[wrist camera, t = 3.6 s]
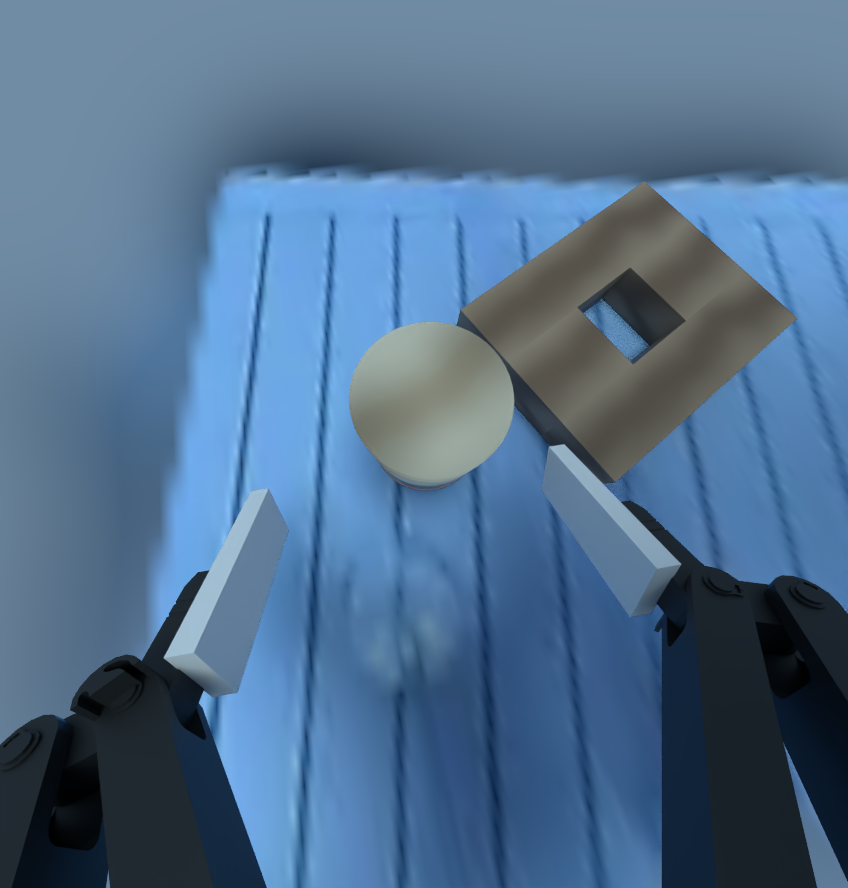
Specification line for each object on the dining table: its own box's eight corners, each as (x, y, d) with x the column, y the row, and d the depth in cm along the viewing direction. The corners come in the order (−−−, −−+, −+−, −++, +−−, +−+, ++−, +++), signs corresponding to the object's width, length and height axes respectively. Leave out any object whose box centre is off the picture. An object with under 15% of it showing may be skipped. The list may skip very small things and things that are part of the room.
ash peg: (486, 455, 23) (549, 410, 12) (416, 511, 22) (417, 516, 11) (431, 389, 24) (444, 293, 13) (361, 440, 23) (314, 381, 12)
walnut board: (747, 342, 26) (797, 318, 23) (585, 485, 23) (615, 482, 20) (616, 220, 28) (644, 181, 25) (454, 336, 25) (460, 309, 22)
